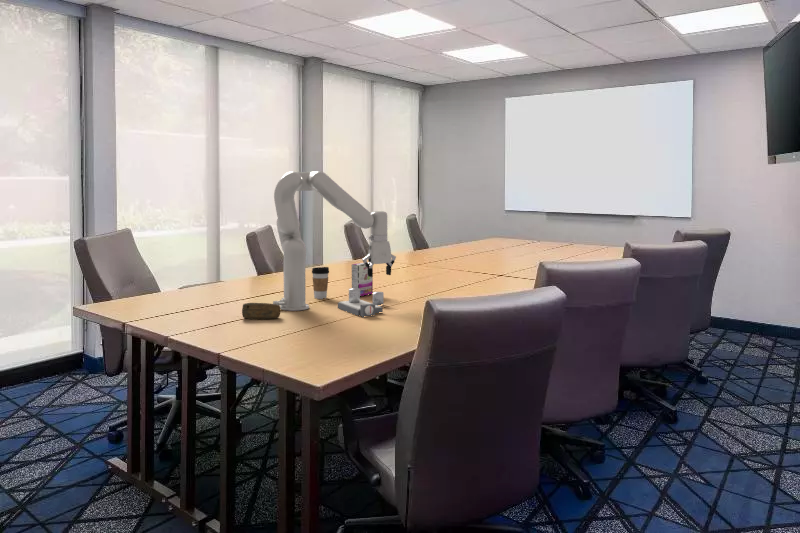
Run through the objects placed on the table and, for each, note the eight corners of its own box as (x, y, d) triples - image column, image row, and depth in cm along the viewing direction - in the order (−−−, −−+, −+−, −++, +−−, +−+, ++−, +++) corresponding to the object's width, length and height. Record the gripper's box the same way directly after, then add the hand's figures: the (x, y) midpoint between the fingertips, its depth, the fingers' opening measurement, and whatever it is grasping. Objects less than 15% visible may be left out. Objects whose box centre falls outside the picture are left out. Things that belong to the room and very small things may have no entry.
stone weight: (241, 321, 236) (241, 304, 236) (243, 317, 243) (243, 301, 242) (279, 320, 239) (279, 304, 238) (280, 316, 246) (280, 301, 245)
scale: (362, 317, 246) (362, 306, 245) (337, 308, 265) (337, 297, 264) (386, 314, 252) (386, 303, 252) (361, 305, 271) (361, 295, 271)
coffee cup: (327, 299, 285) (327, 268, 283) (310, 299, 285) (310, 268, 283) (330, 296, 293) (330, 266, 291) (313, 296, 293) (313, 266, 291)
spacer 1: (352, 303, 260) (352, 290, 260) (346, 301, 265) (346, 288, 264) (361, 302, 263) (362, 289, 262) (356, 300, 267) (356, 287, 267)
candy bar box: (365, 293, 303) (365, 261, 301) (372, 294, 300) (373, 262, 298) (350, 296, 294) (351, 263, 292) (358, 297, 291) (358, 264, 289)
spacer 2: (376, 306, 270) (376, 293, 269) (370, 304, 274) (370, 292, 273) (385, 305, 272) (385, 293, 272) (379, 303, 277) (380, 291, 276)
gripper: (366, 240, 261) (367, 278, 264) (399, 238, 271) (399, 275, 273) (358, 238, 268) (359, 276, 270) (391, 237, 277) (391, 273, 279)
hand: (379, 275), depth 272 cm, fingers open, 9 cm apart
